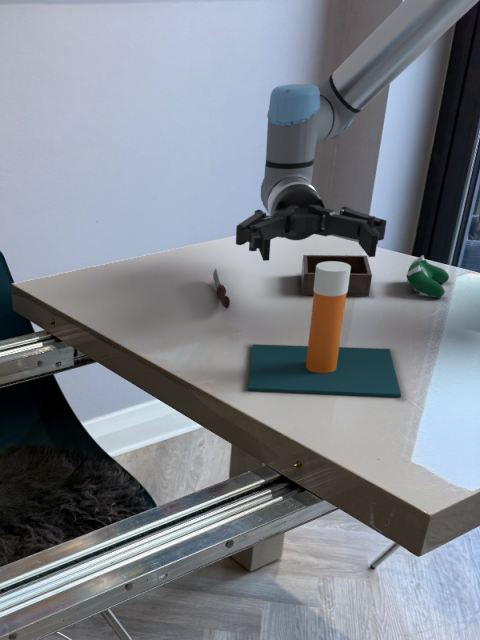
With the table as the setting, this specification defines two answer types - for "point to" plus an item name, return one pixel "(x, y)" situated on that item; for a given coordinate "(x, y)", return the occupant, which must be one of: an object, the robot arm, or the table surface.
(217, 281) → the knife
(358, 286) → the box
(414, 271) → the gaming controller
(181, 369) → the table surface
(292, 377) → the mat
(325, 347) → the glue stick
